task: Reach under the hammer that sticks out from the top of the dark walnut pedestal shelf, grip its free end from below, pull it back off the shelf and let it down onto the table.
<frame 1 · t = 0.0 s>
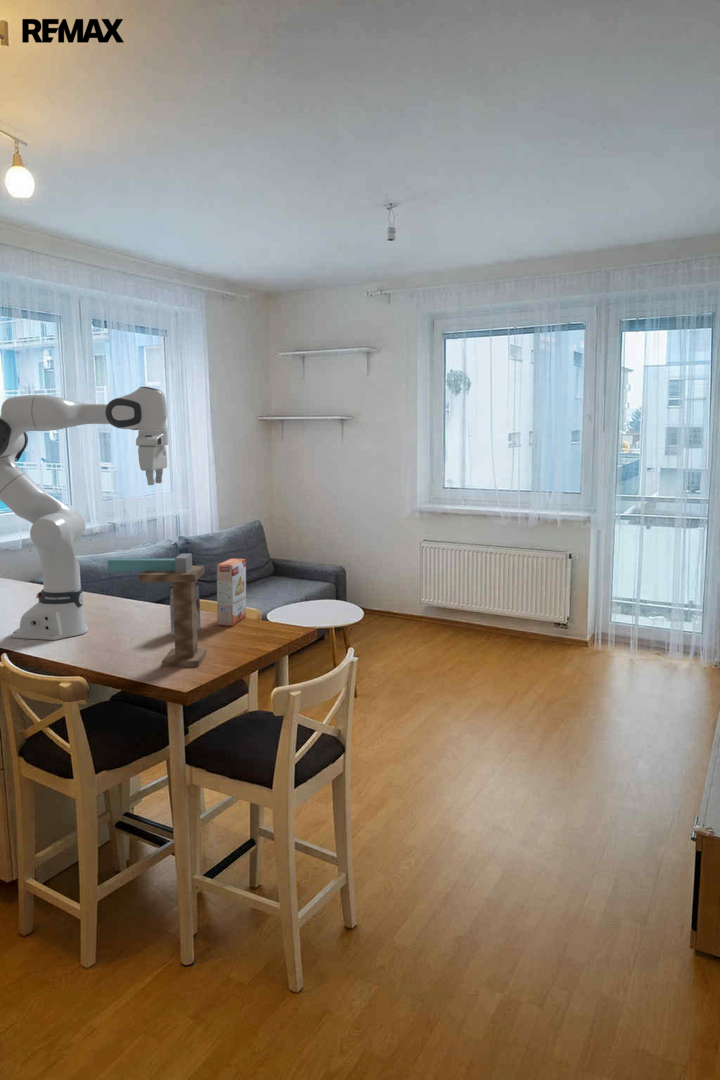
hand: (154, 484, 229), 48 cm above the table, tool pointing down, fingers open, 8 cm apart
stand: (174, 660, 207), on the table
cracker box: (232, 621, 251), on the table
coffee box: (186, 632, 236), on the table
hammer: (149, 569, 203), point 26 cm above the table, touching stand
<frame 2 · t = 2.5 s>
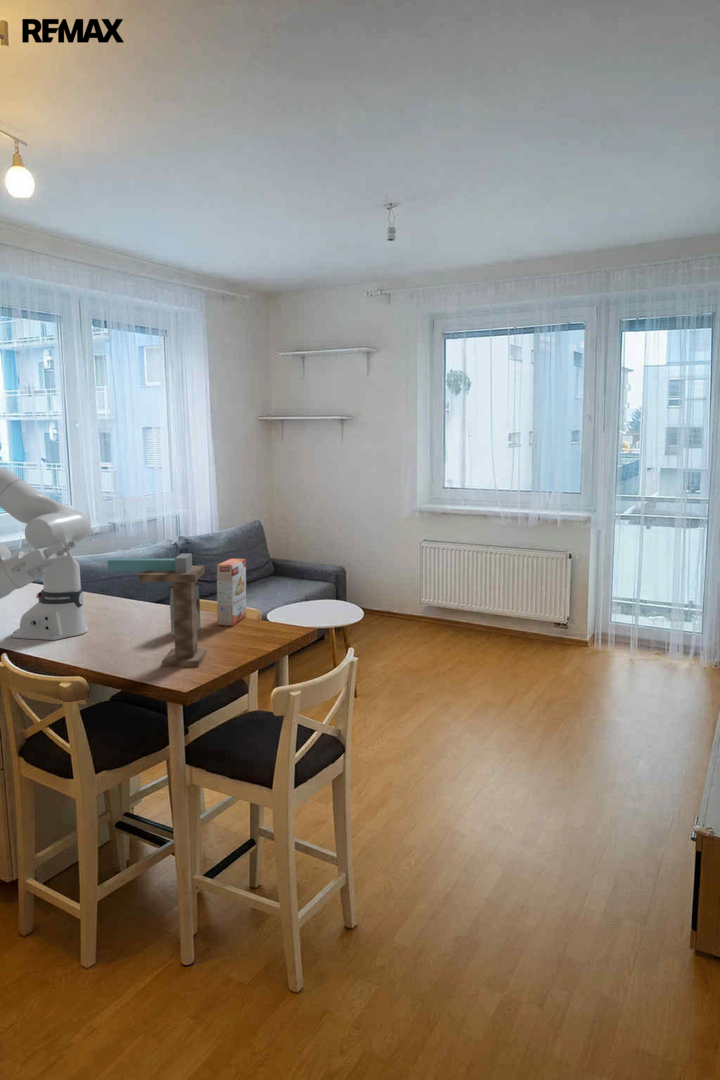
hand: (69, 544, 199), 34 cm above the table, tool pointing upward, fingers open, 8 cm apart
nothing on the table moved.
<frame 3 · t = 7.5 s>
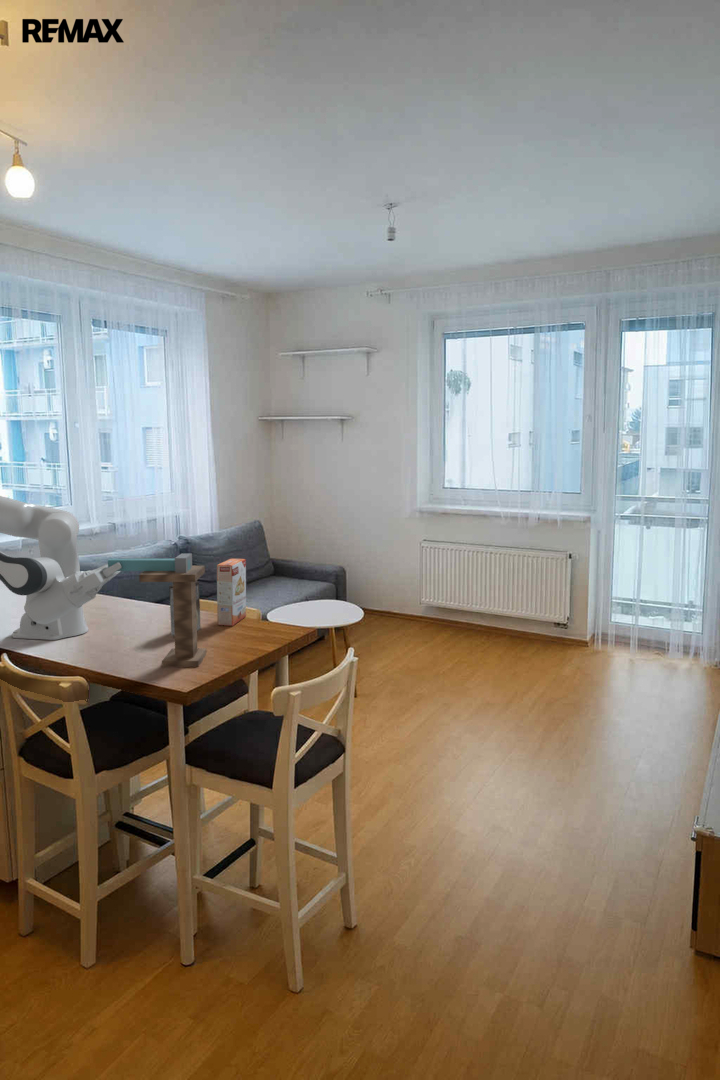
hand: (123, 563, 202), 28 cm above the table, tool pointing upward, fingers closed on hammer, 3 cm apart
hammer: (149, 569, 203), point 26 cm above the table, touching gripper, stand
everything else where it was.
when the fingers open (19 cm above the table, at t = 14.6 s): hammer drops 15 cm, on the table.
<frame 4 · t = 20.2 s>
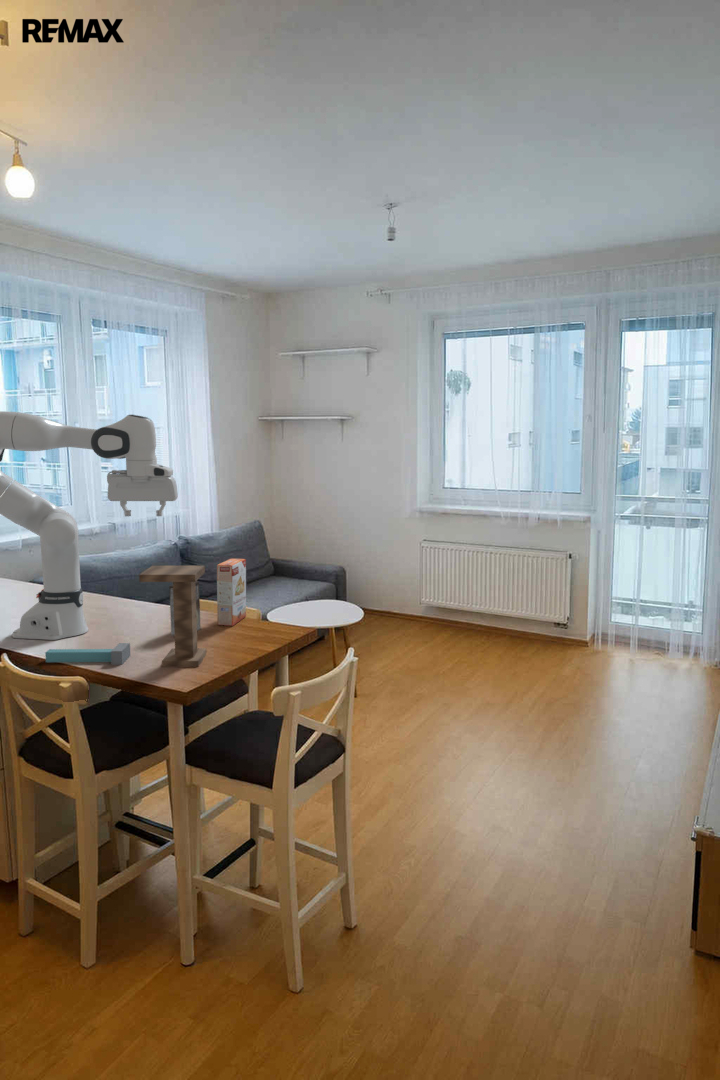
hand: (143, 516, 219), 39 cm above the table, tool pointing down, fingers open, 8 cm apart
hammer: (87, 660, 206), on the table
everything else where it was.
at the end: hammer inside the target area (3.5 cm from its centre), on the table; hammer touching table; the gripper is holding nothing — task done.
